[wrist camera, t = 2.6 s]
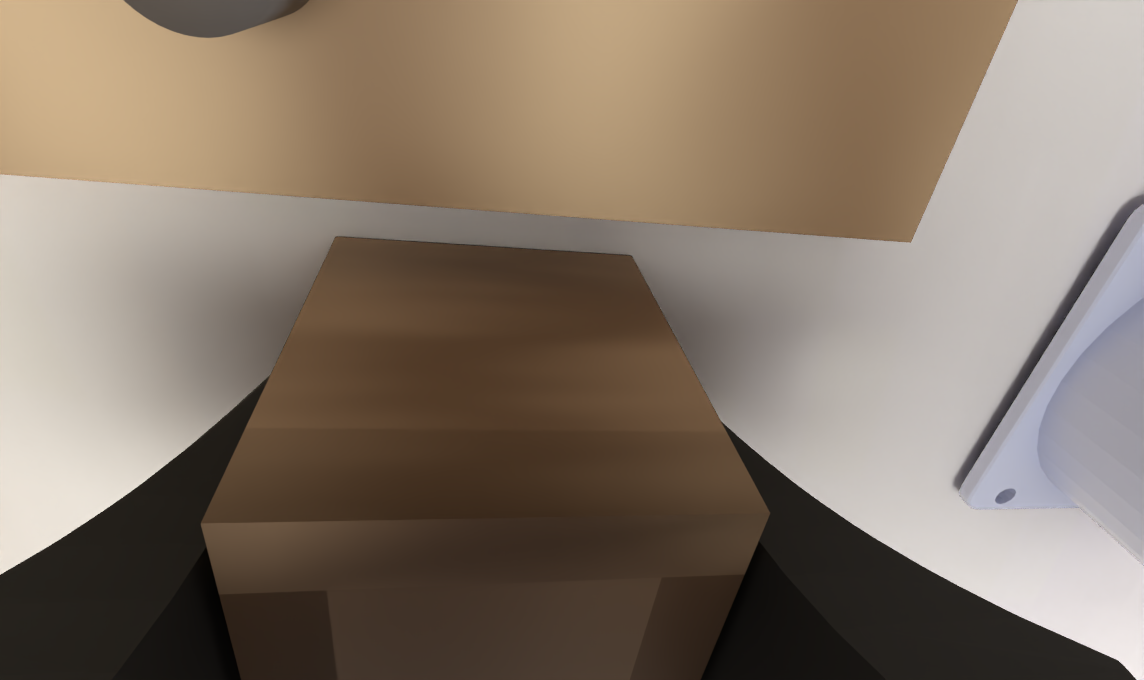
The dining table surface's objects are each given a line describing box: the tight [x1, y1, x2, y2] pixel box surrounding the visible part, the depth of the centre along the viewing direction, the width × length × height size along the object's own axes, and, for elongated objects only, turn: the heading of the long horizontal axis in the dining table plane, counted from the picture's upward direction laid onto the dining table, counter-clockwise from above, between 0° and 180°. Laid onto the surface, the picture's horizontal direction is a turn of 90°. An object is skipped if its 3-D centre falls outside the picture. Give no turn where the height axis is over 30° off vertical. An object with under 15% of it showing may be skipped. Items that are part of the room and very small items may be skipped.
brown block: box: [201, 237, 770, 680], centre depth 9 cm, size 5×5×6 cm
